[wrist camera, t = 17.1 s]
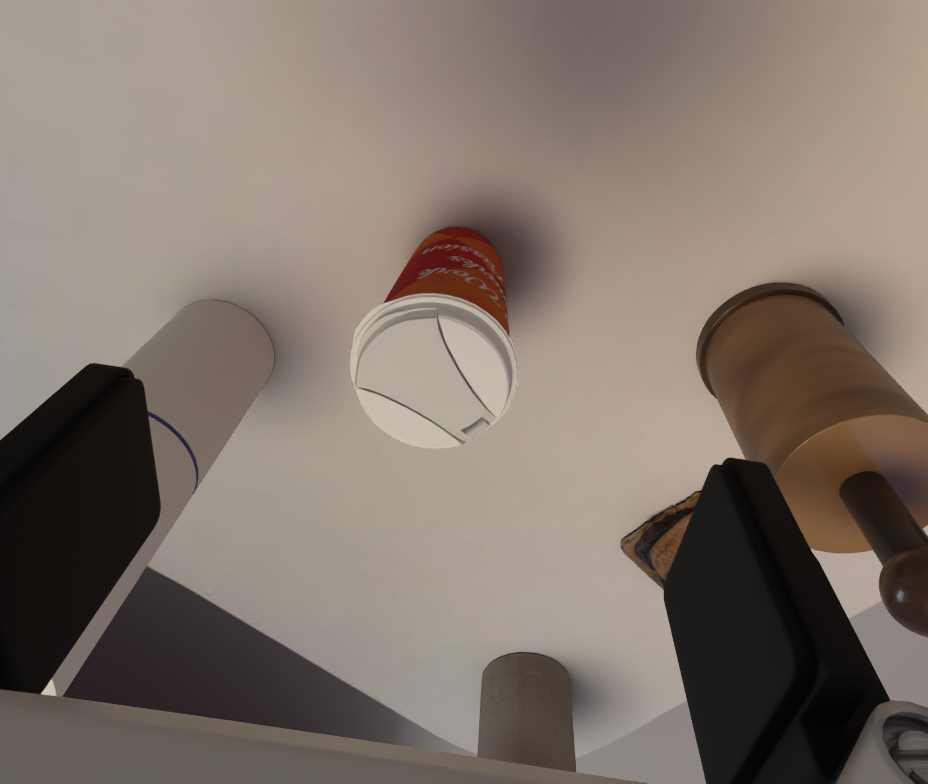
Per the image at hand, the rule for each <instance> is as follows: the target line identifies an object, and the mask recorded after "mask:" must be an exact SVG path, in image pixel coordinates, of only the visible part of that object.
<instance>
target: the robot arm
mask: <svg viewBox="0 0 928 784" xmlns="http://www.w3.org/2000/svg"><path fill="white" fill-rule="evenodd" d="M160 511H161V501H160V494H159V487H158V480H157V473H156V466H155V459H154V452H153V445H152V438H151V431H150V424H149V417H148V410H147V403H146V396H145V389H144V385H143V382H142V381H141V380H140V379H137V378H135V377H134V374H133V373H132V371H131V370H130V369H128V368H123V367H116V366H109V365H103V364H96V363H93V364H89V365H87V366H85V367H84V368H83V369H82V370H81V371H80V372H79V373H77V374H76V375H75V376H74V377H73V378H72V379H71V380H69V381H68V382H67V383H66V384H65V385H64V386H62V387H61V388H60V389H59V390H58V391H57V392H56V393H54V394H53V395H52V396H51V397H50V398H49V399H47V400H46V401H45V402H44V403H43V404H42V405H41V406H39V407H38V408H37V409H36V410H35V411H34V412H32V413H31V414H30V415H29V416H28V417H27V418H26V419H24V420H23V421H22V422H21V423H20V424H19V425H17V426H16V427H15V428H14V429H13V430H12V431H11V432H9V433H8V434H7V435H6V436H5V437H4V438H2V439H1V440H0V784H647V783H641V782H635V781H629V780H622V779H616V778H609V777H603V776H596V775H589V774H583V773H577V772H570V771H564V770H557V769H551V768H544V767H537V766H531V765H524V764H518V763H511V762H505V761H498V760H492V759H485V758H479V757H471V756H465V755H459V754H452V753H445V752H439V751H432V750H425V749H418V748H411V747H405V746H398V745H391V744H385V743H377V742H371V741H365V740H358V739H351V738H344V737H337V736H330V735H324V734H317V733H310V732H303V731H296V730H290V729H282V728H275V727H269V726H262V725H255V724H248V723H241V722H235V721H228V720H221V719H214V718H206V717H199V716H192V715H185V714H178V713H171V712H164V711H157V710H150V709H143V708H136V707H129V706H121V705H115V704H108V703H101V702H94V701H87V700H79V699H73V698H72V699H71V698H65V697H58V696H50V695H42V694H41V693H42V692H43V691H44V689H45V688H46V686H47V685H48V683H49V682H50V680H51V679H52V677H53V676H54V674H55V673H56V671H57V670H58V668H59V667H60V666H61V664H62V663H63V661H64V660H65V658H66V657H67V655H68V654H69V652H70V651H71V649H72V648H73V646H74V645H75V644H76V642H77V641H78V639H79V638H80V636H81V635H82V633H83V632H84V630H85V629H86V627H87V626H88V624H89V623H90V622H91V620H92V619H93V617H94V616H95V614H96V613H97V611H98V610H99V608H100V607H101V605H102V604H103V602H104V601H105V600H106V598H107V597H108V595H109V594H110V592H111V591H112V589H113V588H114V586H115V585H116V583H117V582H118V580H119V579H120V577H121V576H122V575H123V573H124V572H125V570H126V569H127V567H128V566H129V564H130V563H131V561H132V560H133V558H134V557H135V555H136V554H137V553H138V551H139V550H140V548H141V547H142V545H143V544H144V542H145V541H146V539H147V538H148V536H149V535H150V533H151V532H152V531H153V529H154V528H155V526H156V524H157V522H158V519H159V516H160ZM664 602H665V606H666V611H667V615H668V619H669V624H670V628H671V632H672V637H673V641H674V645H675V650H676V654H677V658H678V663H679V667H680V671H681V676H682V680H683V684H684V689H685V693H686V697H687V702H688V706H689V710H690V715H691V719H692V723H693V727H694V732H695V736H696V741H697V745H698V749H699V754H700V758H701V762H702V767H703V771H704V775H705V780H706V784H928V708H927V707H924V706H921V705H918V704H915V703H911V702H905V701H893V700H892V701H890V699H889V697H888V695H887V693H886V691H885V689H884V687H883V685H882V683H881V681H880V679H879V677H878V676H877V674H876V672H875V670H874V668H873V666H872V664H871V662H870V660H869V658H868V656H867V654H866V652H865V650H864V648H863V646H862V645H861V642H860V641H859V639H858V637H857V635H856V633H855V631H854V629H853V627H852V625H851V623H850V621H849V619H848V617H847V615H846V613H845V611H844V610H843V608H842V606H841V604H840V602H839V600H838V598H837V596H836V594H835V592H834V590H833V588H832V586H831V584H830V582H829V580H828V579H827V577H826V575H825V573H824V571H823V569H822V567H821V565H820V563H819V561H818V560H817V558H816V557H815V556H814V554H813V553H812V551H811V549H810V547H809V545H808V543H807V541H806V539H805V537H804V535H803V533H802V532H801V530H800V528H799V526H798V524H797V522H796V520H795V518H794V516H793V514H792V512H791V510H790V508H789V506H788V504H787V502H786V500H785V498H784V496H783V494H782V493H781V491H780V489H779V487H778V485H777V483H776V481H775V479H774V477H773V475H772V473H771V471H770V469H769V467H768V466H767V465H766V464H765V463H763V462H756V461H750V460H743V459H736V458H727V459H726V460H725V461H724V462H723V463H722V465H713V466H712V467H711V469H710V471H709V473H708V476H707V478H706V481H705V483H704V486H703V488H702V491H701V493H700V496H699V498H698V501H697V503H696V506H695V508H694V510H693V513H692V515H691V518H690V520H689V523H688V525H687V528H686V530H685V533H684V535H683V538H682V540H681V543H680V545H679V548H678V550H677V553H676V555H675V558H674V560H673V562H672V565H671V567H670V570H669V572H668V575H667V577H666V580H665V585H664Z"/></svg>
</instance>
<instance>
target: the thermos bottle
mask: <svg viewBox="0 0 928 784" xmlns="http://www.w3.org/2000/svg"><path fill="white" fill-rule="evenodd" d="M477 757H479V758H485V759H492V760H498V761H505V762H511V763H518V764H524V765H531V766H537V767H544V768H551V769H557V770H564V771H570V772H576V762H575V748H574V733H573V719H572V704H571V690H570V679H569V676H568V674H567V672H566V671H565V669H564V668H563V667H562V666H561V665H560V664H559V663H557V662H555V661H554V660H552V659H550V658H547V657H545V656H541V655H537V654H530V653H516V654H510V655H506V656H503V657H500V658H498V659H496V660H495V661H493V662H492V663H490V664H489V665H488V667H487V668H486V669H485V671H484V673H483V676H482V685H481V701H480V721H479V738H478V755H477Z"/></svg>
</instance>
